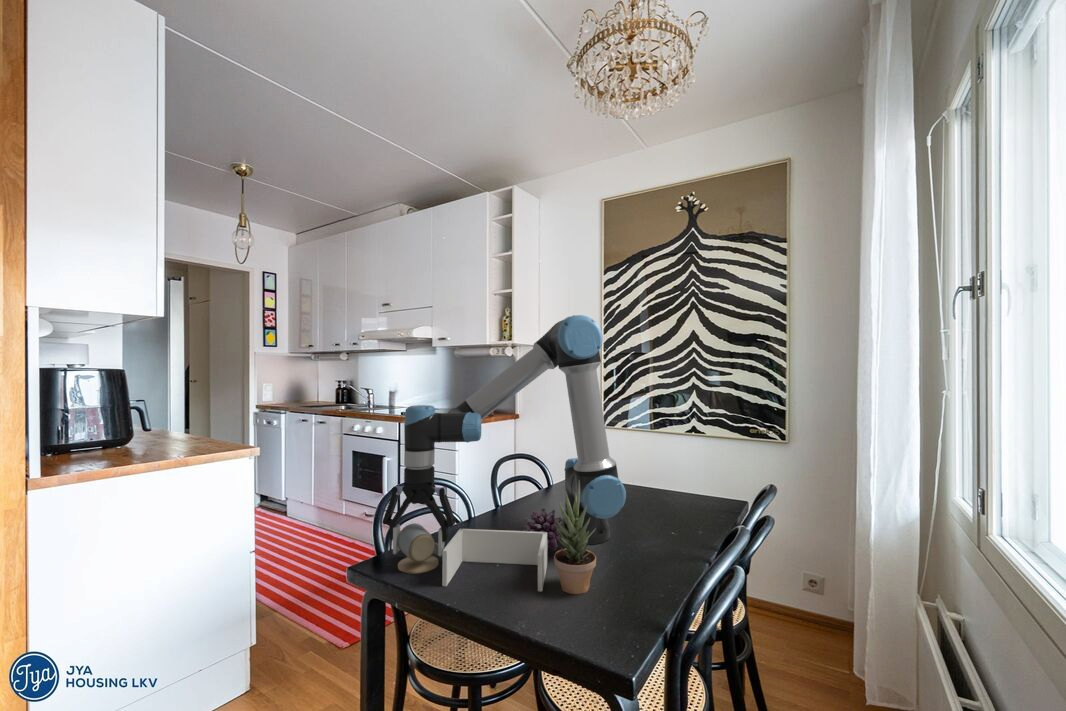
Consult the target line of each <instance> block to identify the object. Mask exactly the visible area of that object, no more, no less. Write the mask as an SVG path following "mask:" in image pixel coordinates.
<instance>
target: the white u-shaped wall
mask: <svg viewBox="0 0 1066 711" xmlns="http://www.w3.org/2000/svg"><path fill="white" fill-rule="evenodd" d="M463 562H464V563H465V562H469V563H487V564H488V563H489V564H491V563H493V564H506V565H507V564H511V565H526V566H527V565H530V566H532V565H533V566H537V592H543V588H544V585H545V584H544V583H545V578H546V573H547V568H548V549H547V532H529V531H522V530H501V529H500V530H499V529H480V528H479V529H476V528H475V529H473V528H459V529H458V530H457V532H456V533H455V535H454V536H453V537H452V538H451V540H449V542H447V544H446V546H444V550H443V555H442V573H441V574H442V575H441V576H442V577H441V578H442V583H441V585H442V587H447V586H448V585H449V583H450V582H451V580H452V578H453V577H454V575H455V574H456V573H457V570H458V569H459V567H460V566H461V565H462V563H463Z"/></svg>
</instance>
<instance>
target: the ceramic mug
mask: <svg viewBox="0 0 1066 711" xmlns="http://www.w3.org/2000/svg"><path fill="white" fill-rule="evenodd" d="M435 541H436V540H435V538H434V537H433V535H432V534H431V533H430V532H429V531H428V530H426V528H425V527H424V526H423V525H421V524H419V523H415V522H412V523H409V524H407V525H405V526H404V527H403V528H402V529H400V534H399V536H398V547H399V549H400V550H399V551H401V552H402V553H403V554H404V555H405V556H406V558H407V557H408V558H410V559H411V560H412V561H415V562H423V561H425V560H427V559H428V558H430V556H433V555H437V556H438V542H435Z"/></svg>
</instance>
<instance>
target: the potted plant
mask: <svg viewBox="0 0 1066 711" xmlns="http://www.w3.org/2000/svg"><path fill="white" fill-rule="evenodd" d="M565 498H566V504H567V509H568V516H567V515H566V513H565V508H564V507H563V505H562V502H561V501H558V505H559V508H560V512H561V515H562V517H563V518H564V520H565V523H566V525H567V528H568V529H566V528H565V527H564V526H562V525H561V524H560V523H561V522H560V523H559V522H558V520H557V519H556V518H557V517H554V518H555V520H556V522H557V524H558V526H559V527H560V529H561V530H562V531H563V533H564V534H565V536H566V537H567V538H566V537H565V536H564V535H563V534H562V533H561V531H560V530H559V528H558V527H557V525H556V523H555V522H554V523H555V526H556V528H557V530H558V532H559V534H560V535H561V537H562V538H561V539H562V540H560V539H559V538H558V537H557V539H558V540H559V541H558V542H559V543H560V544H561V545H562V546H563V547H564V548H563V547H560V548H561V549H560V550H557V551H555V553H554V555H553V561H554V562H553V563H554V565H555V566H556V569H557V573H558V576H559V577H558V578H559V582H560V585H561V589H562V591H563V592H566V593H567V594H571V595H581V594H585V593H587V592H588V591H589V589H590V586H591V584H590V583H591V578H592V575H593V572H594V569H595V567H596V565H597V556H596V555H595V553H594V552H592V551H590V550H588V549H589V547H590V545H588V544H587V543H588V538H589V537H590V536H591V535H592V533H593V532H594V531H595V529H596V528H595V529H594V530H593V531H592V532H591V533H590V534H589V535H588V533H589V531H588V532H587V533H586V528H587V526H588V524H589V521H590V518H591V517H590V518H589V519H588V521H587V522H586V524H585V525H584V526H583V527H582V524H583V520H584V516H585V513H586V510H587V505H586V507H585V508H584V510H583V512H582V514H581V516H580V517H579V519H578V516H579V502H580V480H579V484H578V495H577V496H576V493H575V500H574V504H573V512H572V508H571V505H570V502H569V499H568V496H567V493H566V490H565V489H564V499H565ZM587 535H588V536H587ZM587 545H588V546H587Z"/></svg>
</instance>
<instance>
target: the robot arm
mask: <svg viewBox="0 0 1066 711" xmlns="http://www.w3.org/2000/svg"><path fill="white" fill-rule="evenodd" d="M602 331H603V330H602V329H601V327H600V325H599V324H598V323H597V322H596V321H595V320H594V319H593V318H591V317H589V316H587V315H584V314H583V315H582V314H581V315H580V314H579V315H578V314H577V315H571V316H567V317H565V318H564V319H562V320H559V321H557V322H556V323H554V325H553V326H552V327H551V328H550V329H549V330H548V331H547V332H546V333H545V334H544V335H542V337H540V338H539V339H538V340H536V341H535V342H534V343H533V346H532V349H531V350H529V351H527V352H526V353H525V354H524V355H523V356H521V357H520V358H518V359H517V360H516V361H515V362H513V363H512V364H511V365H509V366H508V367H507V368H505V369H504V370H503V371H501V372H500V373H499V374H497V375H496V376H495V377H494V378H493V379H491V380H490V381H489V382H488V383H487V382H486V384H485V385H483V386H482V387H480V388H478V390H477V391H476V392H473V394H471V395H470V396H469V397H468V398H467V399H465V400H464V401H462V402H461V403H459V405H457V406H456V407H454V408H451V410H449V411H448V412H446V413H445V412H443V413H441V412H436V407H435V406H434V405H429V404H426V405H425V404H421V405H420V404H418V405H410V406H407V407H406V409H405V410H404V411H405V412H404V413H405V414H404V424H403V426H404V427H403V429H404V433H403V434H404V453H403V454H404V455H403V456H404V458H403V461H404V462H403V463H404V464H403V465H404V467H405V468H404V469H403V470H404V471H403V472H404V473H403V475H404V476H403V481H404V482H403V483H404V484H403V485H402V486H400V485H399V484H396V485H394V486H393V487H391V497H390V499H389V503H388V504H387V507H386V510H385V513H384V516H383V518H382V522H381V523H382V524H383V525H386V526H388V527H389V539H390V540H392V554H393V555H396V554H397V553H398V552H399V551H401V550H400V549H399V547H398V536H399V534H400V532H401V524H398V523H399V521H400V520H401V518H402V517H403V515H404V513H405V512H406V510H407V509H408V507H409V506H410V505H411V504H412V505H416V504H419V505H425V506H426V507H427V508H428V509H429V510H430V512H431V513H432V515H433V517H434V518H435V520H436V522H437V523H438V525H439V529H438V532H437V534H438V535H437V536H438V537H437V539H438V542H437V544H438V555H437V556H438V557H443V550H444V548H445V542H447V541H448V540H449V528H453V527H454V525H455V524H456V518H455V515H454V513H453V510H452V506H451V503H450V501H449V498H448V495H447V494H448V489H447V486H446V485H444V486H442V487H440V486H439V487H438V486H437V487H436V484H435V467H434V464H435V453H436V452H435V450H436V449H435V448H436V445H435V444H436V443H437V444H438V443H470V442H471V443H472V442H473V443H474V442H479V441H480V440H481V439H482V421H483V420H485V418H486V417H488V416H489V415H491V414H492V413H493V412H494V411H495V410H497V409H498V408H499V407H501V406H502V405H503V404H505V403H506V402H507V401H509V400H510V399H511V398H513V397H514V396H515V395H516V394H517V393H519V392H520V391H522V390H523V389H524V388H526V387H527V386H528V385H530V384H531V383H532V382H533V381H535V380H537V378H538V377H540V376H541V375H542V374H543V373H545V372H546V371H548V370H554V369H555V368H558V369H559V370H560V371H561V372H562V373H564V375H565V381H566V388H567V396H568V402H569V407H570V408H569V409H570V416H571V421H572V422H571V423H572V427H573V428H572V430H573V435H574V441H575V447H576V448H575V449H576V456H577V457H573V458H568V459H567V460H566V461H565V464H564V465H565V466H564V491H565V490H566V493H567V496H568V499H569V502H570V505H571V508H572V512H573V504H574V500H575V493H576V496H577V495H578V484H579V480H580V502H579V516H578V519H579V517H580V516H581V514H582V512H583V510H584V508H585V507H586V505H587V510H586V513H585V516H584V520H583V524H582V527H583V526H584V525H585V524H586V522H587V521H588V519H589V518H590V517H591V518H590V521H589V524H588V526H587V528H586V533H587V532H588V531H589V533H588V535H589V534H590V533H591V532H592V531H593V530H594V529H595V528H596V529H595V531H594V532H593V533H592V535H591V536H590V537H589V538H588V543H587V544H586V545H596V544H601V543H604V542H607V541H608V540H610V538H611V529H610V526H609V522H608V518H612V517H614V516H616V515H618V513H619V512H620V511H621V509H622V508H623V507H624V505H625V503H626V499H627V491H626V487H625V486H624V484H623V482H622V481H621V480H620V478H619V474H618V468H617V461H616V460H614V459H613V458H612V457H611V456H610V451H609V446H608V437H607V429H606V425H605V423H606V422H605V418H604V417H605V416H604V412H603V410H604V409H603V404H602V398H601V397H602V396H601V392H600V391H601V390H600V385H599V384H600V383H599V378H598V370H597V369H598V368H599V366H600V365H601V363H602V359H601V358H602V357H601V351H600V350H601V347H602V345H603V339H604V338H603V332H602ZM402 493H403V494H404V495H405V497H406V498H405V499H404V500H403V502H402V504H401V506H400V507H399V508H398V510H397V511H396V513H395V514H394V512H395V509H396V506H397V503H398V500H399V497H400V495H401V494H402ZM434 494H436V495H437V497H439V501H440V504H441V508H442V510H443V512H442V510H441V509H440V507H439V505H438V504H437V502H436V501H437V500H436V499H435V497H434ZM564 511H565V513H566V515H567V516H568V509H567V504H566V498H565V497H564ZM393 515H394V516H393ZM561 518H562V519H563V520H562V521H561V522H560V524H561V525H562V526H564V527H565V528H566V529H568V528H567V525H566V523H565V520H564V518H563V516H562V517H561ZM562 534H563V535H564V536H565V534H564V533H562ZM588 535H587V536H588ZM560 536H561V535H560ZM565 537H566V536H565ZM561 538H562V537H561ZM566 538H567V537H566Z"/></svg>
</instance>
